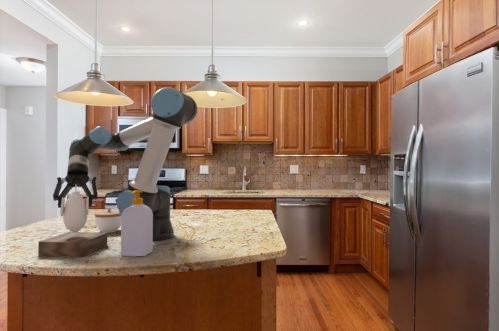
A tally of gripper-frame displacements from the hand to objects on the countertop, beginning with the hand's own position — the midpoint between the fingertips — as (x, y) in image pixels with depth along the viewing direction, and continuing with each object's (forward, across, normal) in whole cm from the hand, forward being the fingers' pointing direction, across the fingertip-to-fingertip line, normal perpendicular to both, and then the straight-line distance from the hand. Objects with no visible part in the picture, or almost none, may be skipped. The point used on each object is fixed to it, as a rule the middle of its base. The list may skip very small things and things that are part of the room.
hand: (74, 213), depth 109 cm
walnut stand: (+8, 0, -12) cm, 15 cm away
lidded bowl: (-14, -12, -35) cm, 39 cm away
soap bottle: (+19, -20, -2) cm, 27 cm away
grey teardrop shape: (+3, 0, -8) cm, 8 cm away
